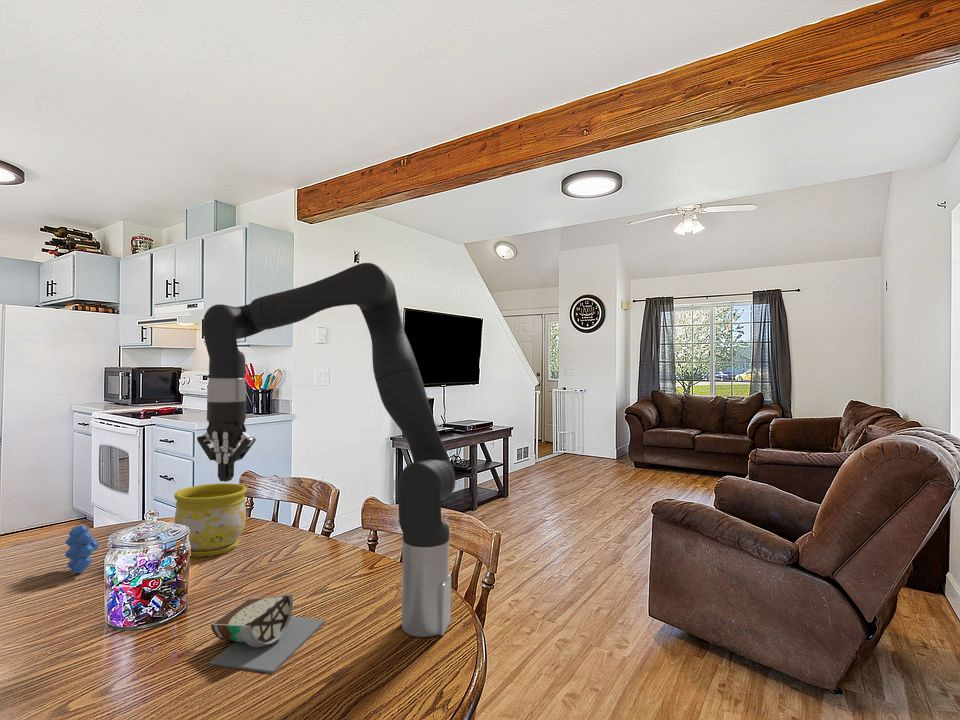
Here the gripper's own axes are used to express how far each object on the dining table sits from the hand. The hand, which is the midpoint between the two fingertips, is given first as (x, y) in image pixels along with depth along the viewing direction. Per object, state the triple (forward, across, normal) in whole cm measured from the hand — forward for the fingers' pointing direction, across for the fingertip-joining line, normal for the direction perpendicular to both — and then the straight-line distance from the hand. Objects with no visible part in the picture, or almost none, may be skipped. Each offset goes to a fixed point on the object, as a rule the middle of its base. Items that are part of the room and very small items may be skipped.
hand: (225, 480), depth 112 cm
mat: (+27, -18, +10) cm, 34 cm away
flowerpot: (+27, +27, -30) cm, 49 cm away
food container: (+25, -9, +10) cm, 29 cm away
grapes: (+27, +46, -9) cm, 54 cm away
